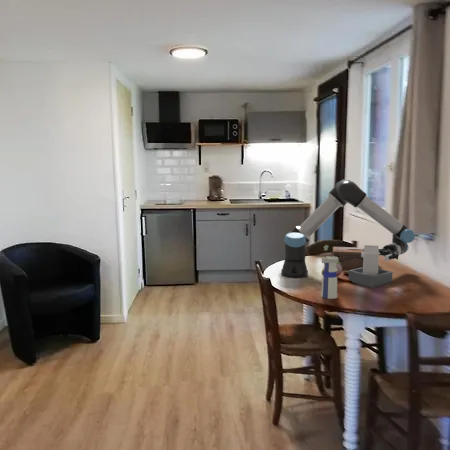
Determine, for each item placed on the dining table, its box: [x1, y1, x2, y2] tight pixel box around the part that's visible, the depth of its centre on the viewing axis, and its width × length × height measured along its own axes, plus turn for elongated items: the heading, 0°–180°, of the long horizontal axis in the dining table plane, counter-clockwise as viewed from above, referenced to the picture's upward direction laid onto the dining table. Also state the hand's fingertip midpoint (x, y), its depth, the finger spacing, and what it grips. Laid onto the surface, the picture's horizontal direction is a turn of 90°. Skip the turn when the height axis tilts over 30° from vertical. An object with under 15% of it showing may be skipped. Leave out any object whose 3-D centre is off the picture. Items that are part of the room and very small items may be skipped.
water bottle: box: [320, 244, 339, 300], centre depth 220 cm, size 8×9×25 cm
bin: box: [347, 267, 394, 289], centre depth 246 cm, size 16×16×6 cm
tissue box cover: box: [332, 246, 364, 269], centre depth 284 cm, size 26×14×10 cm, turn 79°
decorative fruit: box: [336, 262, 343, 278], centre depth 254 cm, size 9×8×10 cm
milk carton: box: [363, 244, 380, 276], centre depth 245 cm, size 7×7×19 cm
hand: (373, 256), depth 245 cm, fingers open, 13 cm apart
